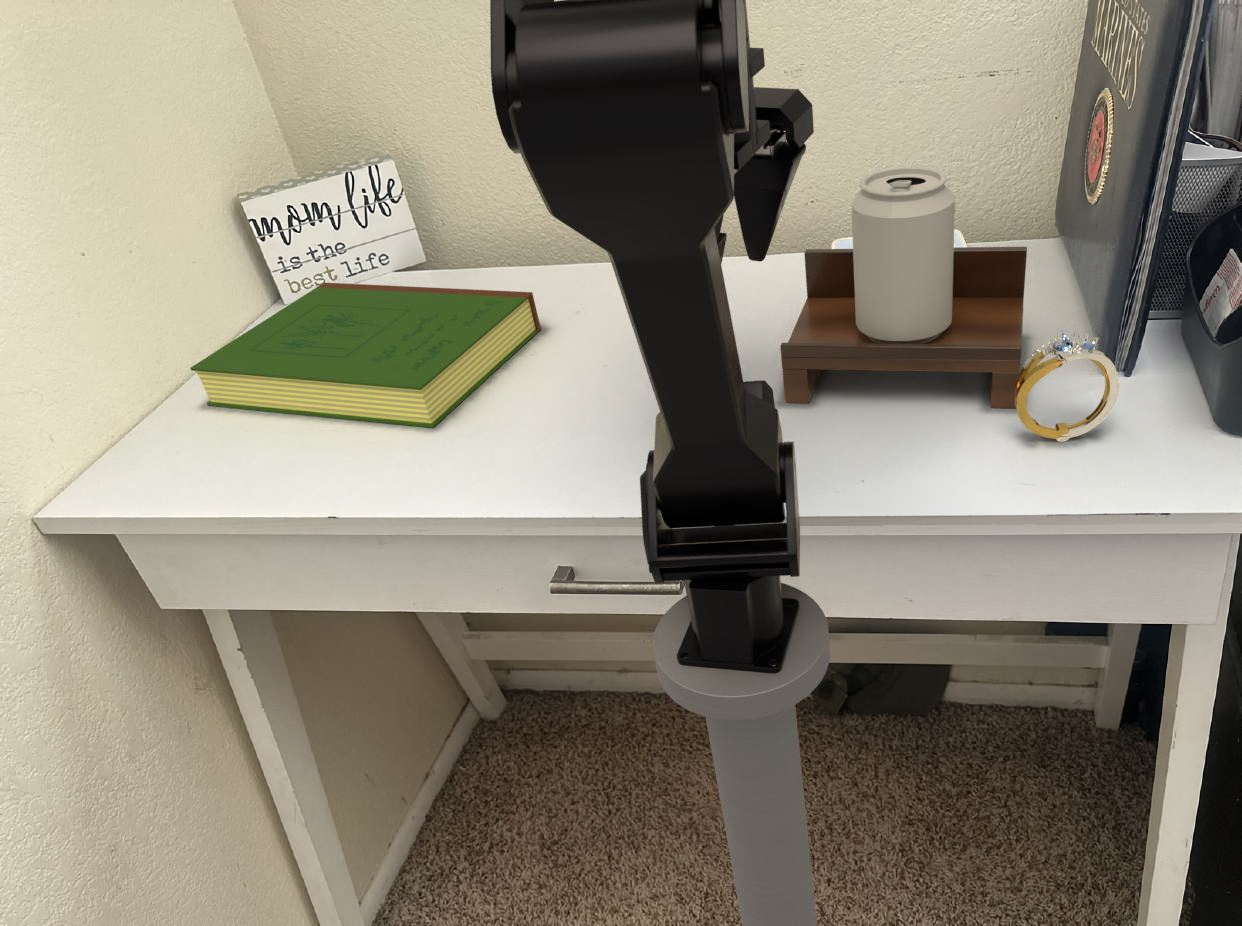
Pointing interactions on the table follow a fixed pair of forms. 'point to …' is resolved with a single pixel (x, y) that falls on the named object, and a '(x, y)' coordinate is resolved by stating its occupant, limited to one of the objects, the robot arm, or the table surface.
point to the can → (903, 255)
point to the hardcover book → (371, 352)
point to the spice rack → (969, 344)
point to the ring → (1064, 351)
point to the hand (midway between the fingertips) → (729, 292)
